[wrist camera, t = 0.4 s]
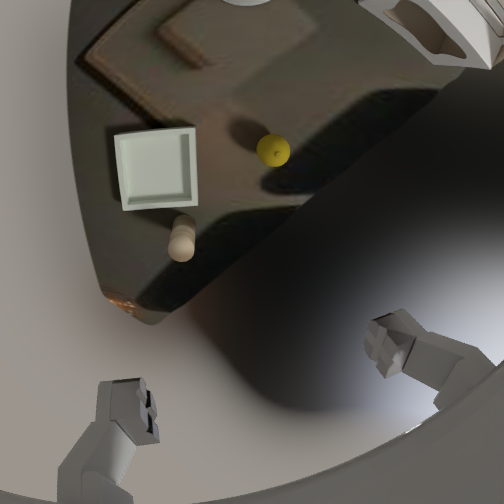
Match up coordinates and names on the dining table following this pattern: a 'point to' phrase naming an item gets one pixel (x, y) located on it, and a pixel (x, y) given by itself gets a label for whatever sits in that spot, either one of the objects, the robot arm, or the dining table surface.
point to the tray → (157, 168)
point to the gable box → (447, 29)
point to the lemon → (273, 150)
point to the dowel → (182, 238)
